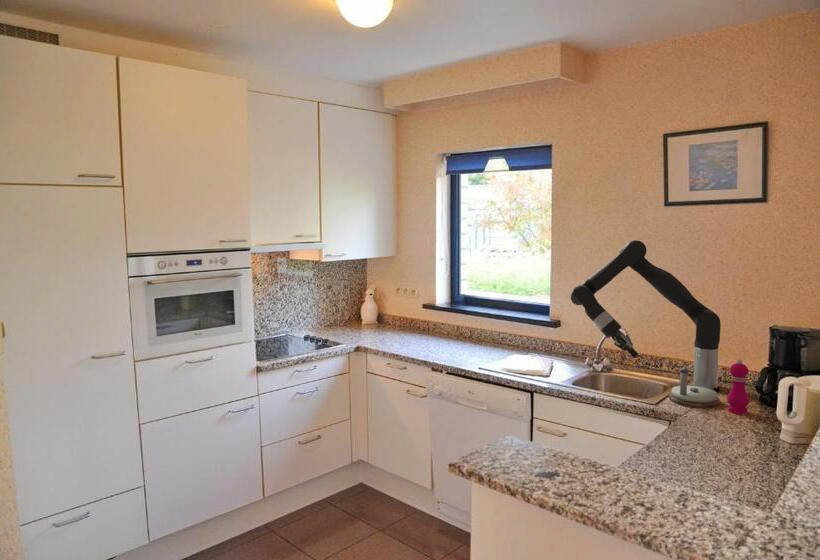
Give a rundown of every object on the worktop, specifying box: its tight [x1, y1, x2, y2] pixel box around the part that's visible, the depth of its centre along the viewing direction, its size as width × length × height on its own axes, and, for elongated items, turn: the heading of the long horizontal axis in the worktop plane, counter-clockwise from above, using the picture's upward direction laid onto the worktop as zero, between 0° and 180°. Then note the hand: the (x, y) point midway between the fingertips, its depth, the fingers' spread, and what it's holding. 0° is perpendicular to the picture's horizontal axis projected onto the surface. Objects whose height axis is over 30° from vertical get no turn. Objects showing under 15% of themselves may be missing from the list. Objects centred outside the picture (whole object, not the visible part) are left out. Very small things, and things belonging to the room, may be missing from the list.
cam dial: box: [671, 368, 718, 403], centre depth 232 cm, size 16×16×12 cm
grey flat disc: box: [668, 391, 720, 409], centre depth 233 cm, size 18×18×2 cm
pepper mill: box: [726, 359, 750, 415], centre depth 218 cm, size 7×7×20 cm
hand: (636, 356), depth 238 cm, fingers closed
